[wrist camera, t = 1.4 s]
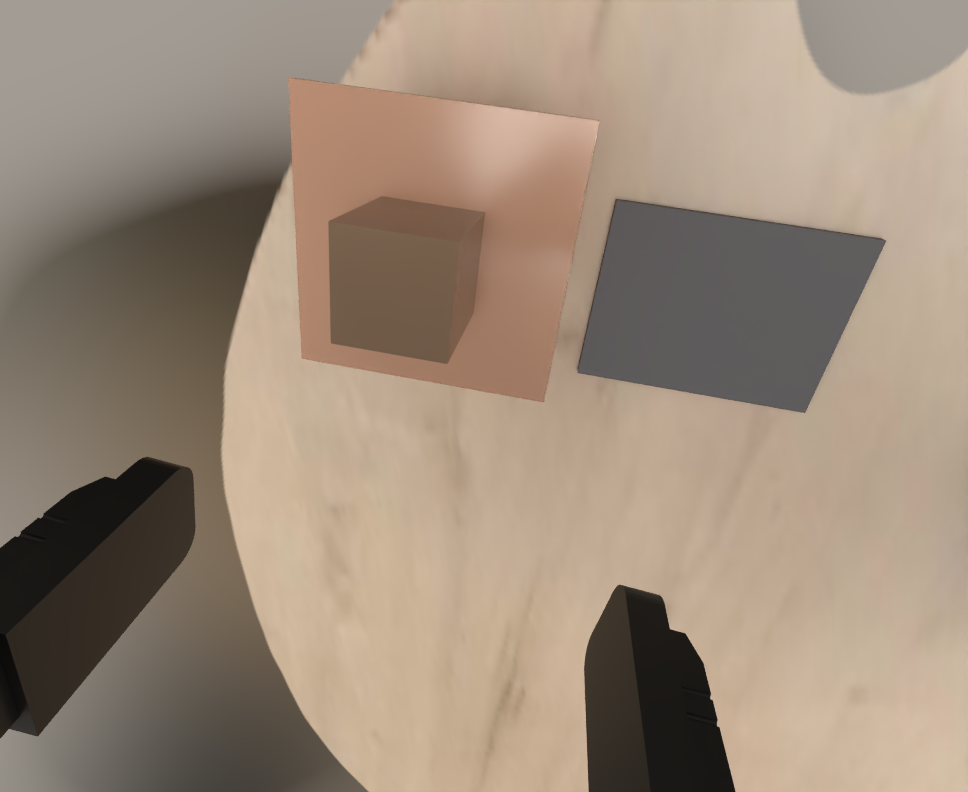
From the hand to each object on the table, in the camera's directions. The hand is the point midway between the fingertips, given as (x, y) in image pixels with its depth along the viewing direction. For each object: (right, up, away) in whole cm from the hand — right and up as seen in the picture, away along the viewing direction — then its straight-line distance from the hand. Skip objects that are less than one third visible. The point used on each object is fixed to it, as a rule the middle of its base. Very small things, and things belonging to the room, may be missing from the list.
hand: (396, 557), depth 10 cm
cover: (0, +9, +12) cm, 15 cm away
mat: (+17, +9, +26) cm, 33 cm away
